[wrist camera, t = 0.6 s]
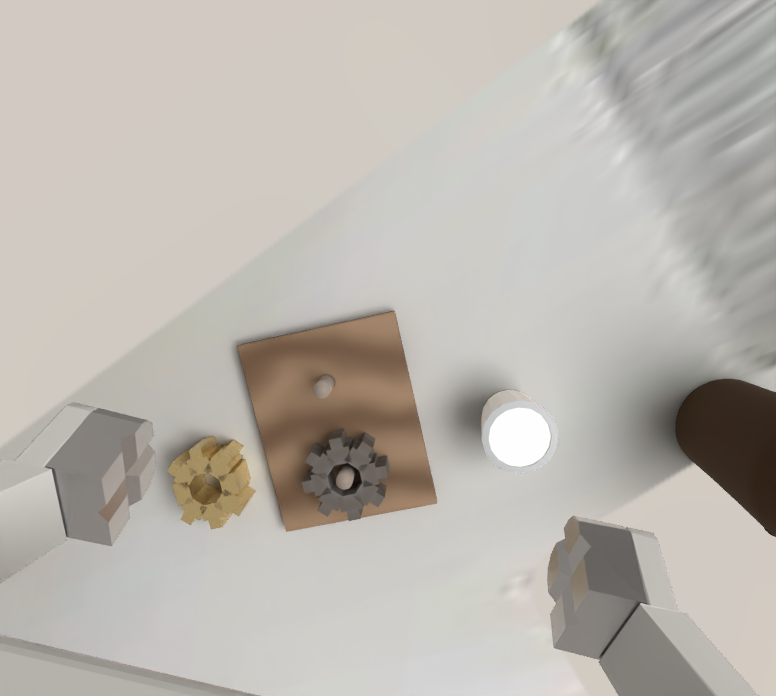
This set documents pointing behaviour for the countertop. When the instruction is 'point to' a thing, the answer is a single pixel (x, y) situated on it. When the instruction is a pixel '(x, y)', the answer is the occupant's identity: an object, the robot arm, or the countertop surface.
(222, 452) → the brass gear
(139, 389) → the countertop surface
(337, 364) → the gear board
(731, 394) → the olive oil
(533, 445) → the white short cylinder
